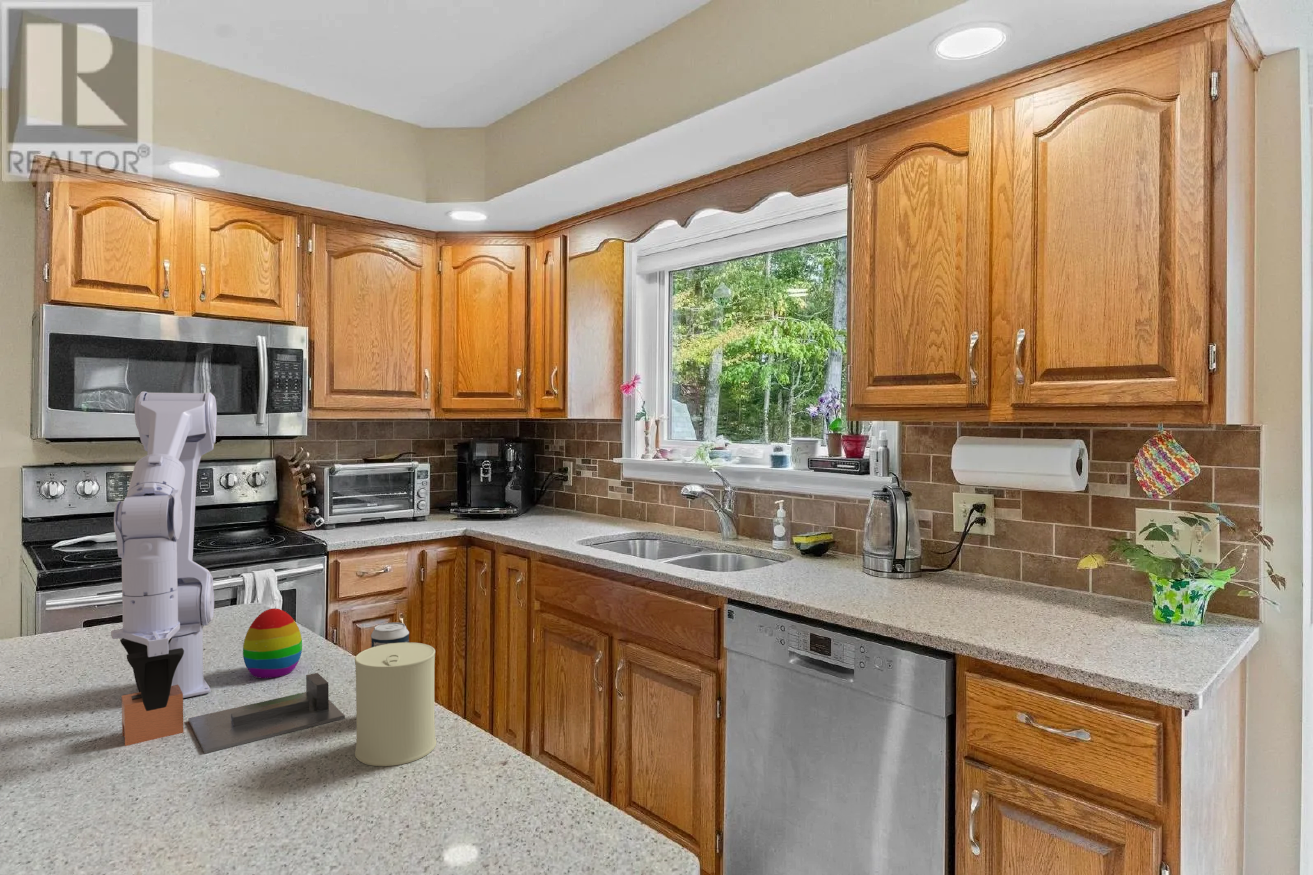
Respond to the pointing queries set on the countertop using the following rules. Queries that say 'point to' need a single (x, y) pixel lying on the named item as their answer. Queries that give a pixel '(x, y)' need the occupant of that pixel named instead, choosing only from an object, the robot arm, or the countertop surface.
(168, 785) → the countertop surface
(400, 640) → the beer can
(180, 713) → the orange block
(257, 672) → the decorative egg
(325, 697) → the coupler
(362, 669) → the can
